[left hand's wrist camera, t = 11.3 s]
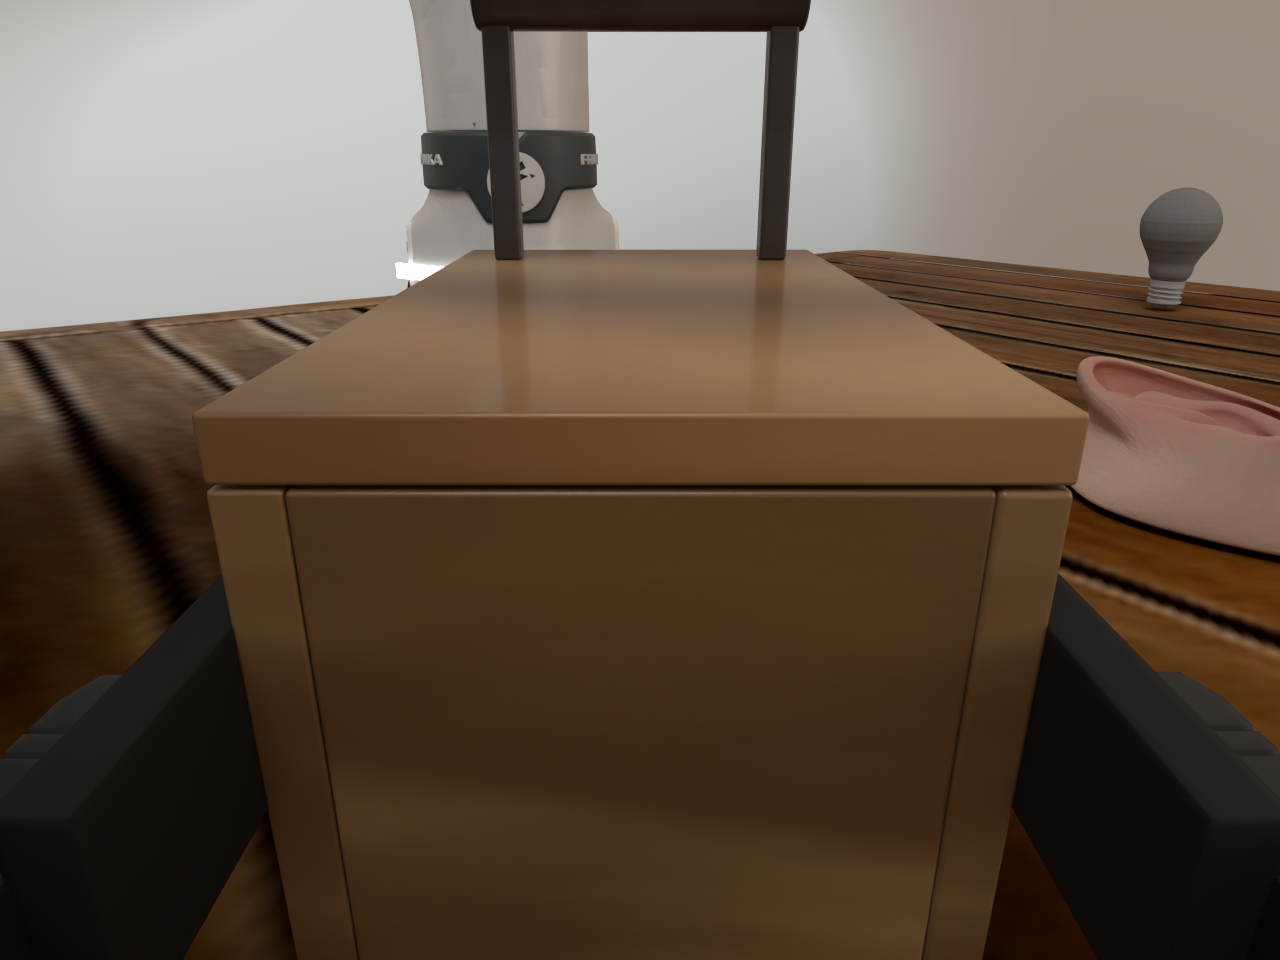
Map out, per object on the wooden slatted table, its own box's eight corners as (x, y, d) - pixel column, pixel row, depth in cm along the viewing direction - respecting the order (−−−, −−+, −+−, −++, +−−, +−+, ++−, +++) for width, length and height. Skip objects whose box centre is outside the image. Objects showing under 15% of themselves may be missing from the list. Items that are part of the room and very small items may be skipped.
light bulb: (1140, 312, 73) (1166, 189, 69) (1113, 301, 78) (1135, 186, 75) (1215, 314, 72) (1245, 189, 69) (1182, 302, 78) (1209, 186, 74)
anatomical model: (1487, 466, 26) (1069, 421, 30) (1443, 583, 27) (1050, 524, 32) (1351, 370, 37) (1061, 347, 42) (1324, 456, 39) (1047, 426, 43)
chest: (489, 585, 28) (468, 285, 24) (790, 585, 28) (811, 285, 24) (319, 1077, 13) (203, 491, 10) (961, 1078, 13) (1078, 491, 10)
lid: (474, 279, 25) (453, -32, 22) (806, 279, 25) (827, -32, 22) (201, 488, 10) (15, -465, 7) (1078, 487, 10) (1268, -465, 7)
